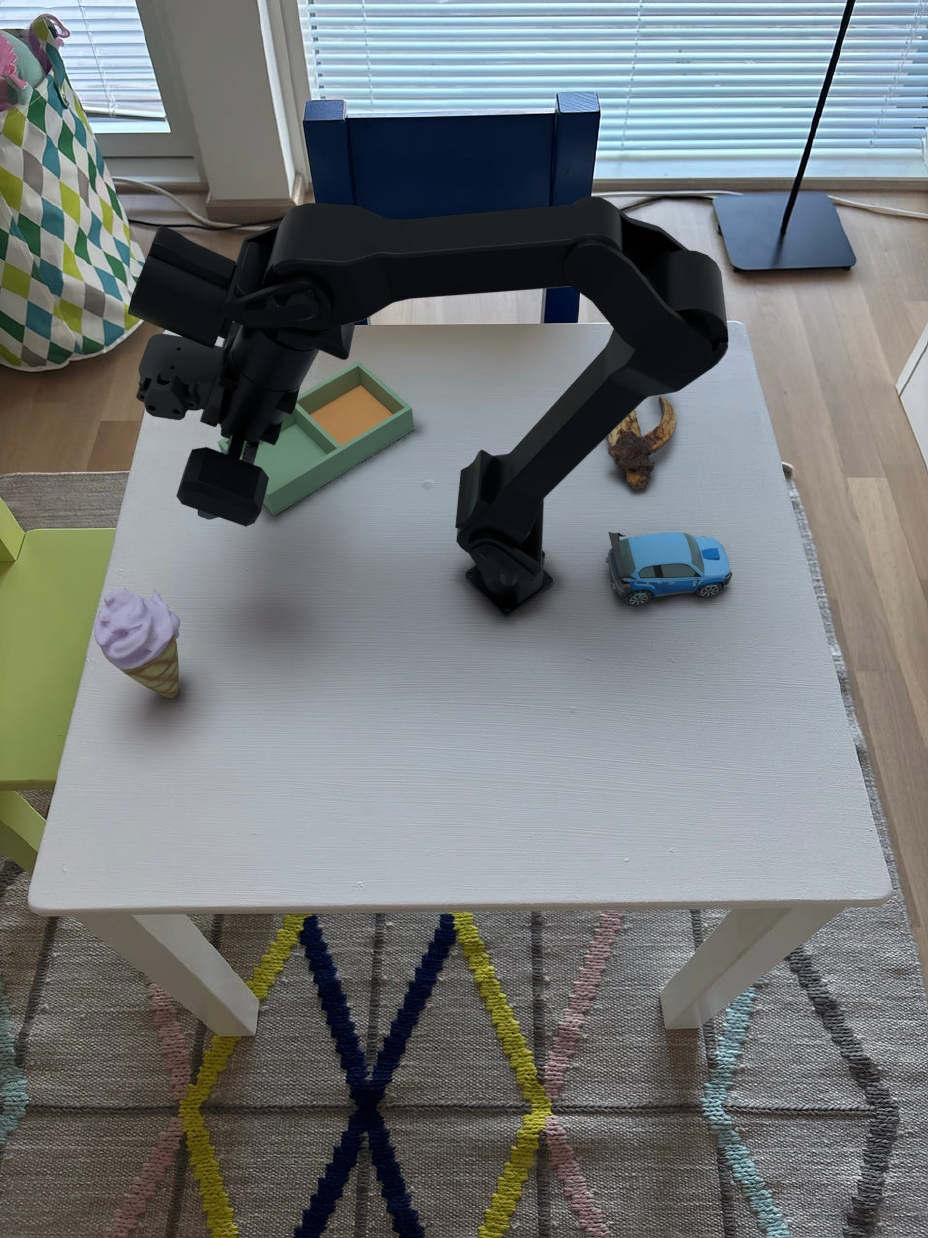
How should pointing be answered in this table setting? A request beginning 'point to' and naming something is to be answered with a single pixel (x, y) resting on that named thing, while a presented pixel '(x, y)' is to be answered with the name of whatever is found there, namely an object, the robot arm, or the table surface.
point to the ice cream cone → (141, 639)
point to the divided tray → (330, 434)
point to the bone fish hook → (640, 444)
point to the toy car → (666, 566)
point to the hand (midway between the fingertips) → (215, 475)
